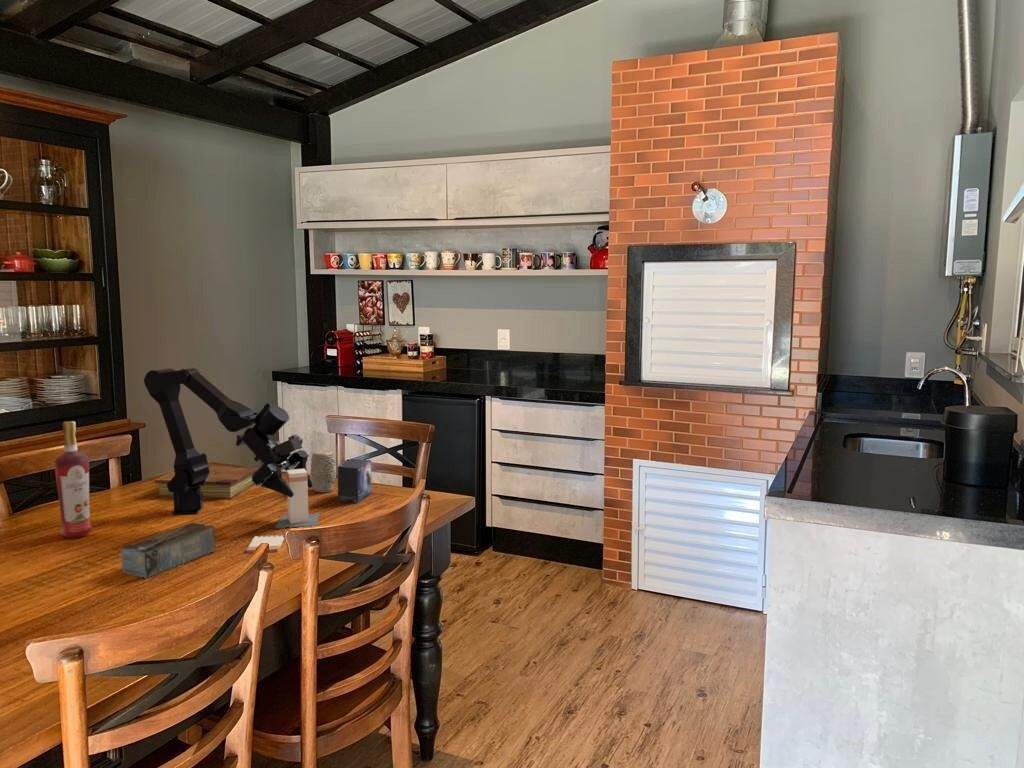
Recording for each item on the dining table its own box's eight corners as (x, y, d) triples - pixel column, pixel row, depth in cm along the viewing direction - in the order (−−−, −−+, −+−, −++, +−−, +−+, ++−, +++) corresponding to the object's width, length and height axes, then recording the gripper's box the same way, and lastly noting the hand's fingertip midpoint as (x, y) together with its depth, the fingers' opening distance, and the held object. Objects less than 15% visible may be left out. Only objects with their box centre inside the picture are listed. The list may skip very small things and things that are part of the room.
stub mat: (275, 528, 192) (275, 526, 192) (281, 516, 202) (281, 515, 202) (315, 527, 194) (315, 525, 194) (320, 515, 203) (320, 513, 203)
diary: (259, 485, 237) (258, 466, 236) (232, 501, 218) (231, 482, 217) (188, 482, 238) (187, 464, 238) (155, 498, 220) (154, 479, 219)
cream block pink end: (277, 551, 176) (277, 548, 175) (246, 553, 175) (245, 550, 175) (284, 537, 185) (284, 534, 185) (254, 538, 184) (254, 535, 184)
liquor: (88, 528, 191) (81, 418, 188) (97, 535, 186) (90, 422, 183) (55, 535, 186) (47, 422, 183) (64, 542, 181) (55, 426, 178)
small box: (358, 504, 214) (357, 467, 213) (337, 502, 216) (336, 466, 214) (372, 494, 225) (372, 459, 223) (352, 492, 226) (351, 458, 225)
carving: (333, 493, 225) (332, 453, 223) (307, 493, 225) (306, 453, 223) (338, 488, 231) (337, 449, 229) (313, 487, 231) (312, 449, 229)
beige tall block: (290, 523, 195) (288, 474, 193) (287, 518, 199) (286, 470, 197) (308, 521, 197) (307, 472, 195) (305, 516, 201) (304, 468, 199)
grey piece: (120, 574, 162) (118, 544, 161) (193, 546, 179) (192, 519, 179) (145, 580, 159) (144, 549, 158) (218, 552, 176) (216, 524, 175)
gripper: (260, 433, 187) (302, 480, 185) (301, 420, 205) (339, 463, 203) (234, 462, 190) (274, 509, 188) (276, 447, 208) (313, 489, 206)
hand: (302, 491), depth 197 cm, fingers open, 9 cm apart
